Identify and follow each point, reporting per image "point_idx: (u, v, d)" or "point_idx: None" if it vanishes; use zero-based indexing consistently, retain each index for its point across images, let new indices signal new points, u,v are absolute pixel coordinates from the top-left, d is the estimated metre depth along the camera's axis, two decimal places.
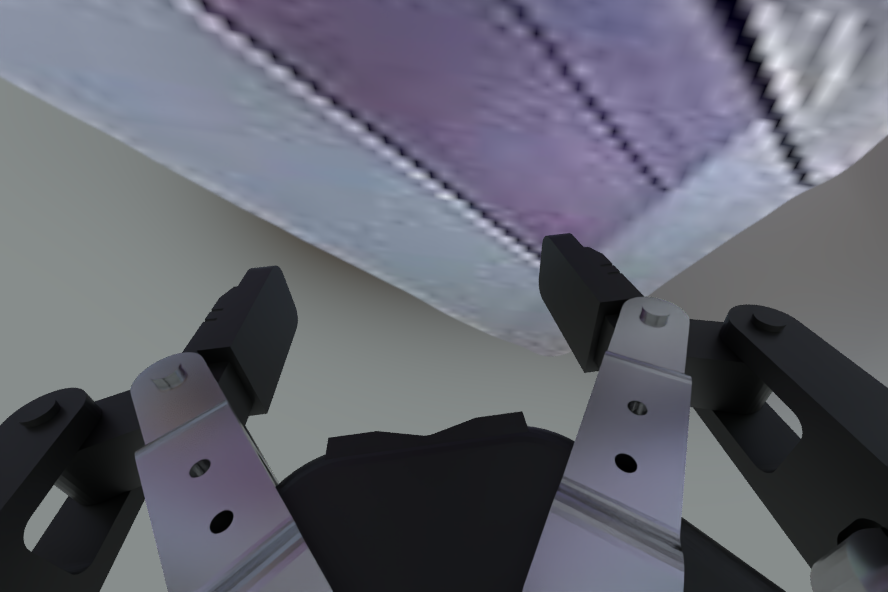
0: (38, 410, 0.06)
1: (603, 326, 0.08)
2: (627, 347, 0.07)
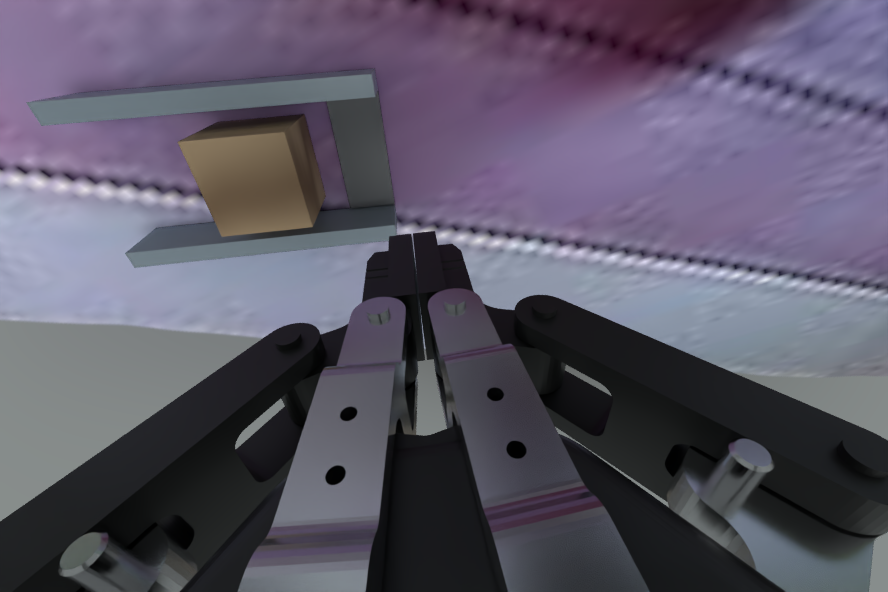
0: (287, 338, 0.07)
1: (428, 315, 0.09)
2: (452, 343, 0.07)
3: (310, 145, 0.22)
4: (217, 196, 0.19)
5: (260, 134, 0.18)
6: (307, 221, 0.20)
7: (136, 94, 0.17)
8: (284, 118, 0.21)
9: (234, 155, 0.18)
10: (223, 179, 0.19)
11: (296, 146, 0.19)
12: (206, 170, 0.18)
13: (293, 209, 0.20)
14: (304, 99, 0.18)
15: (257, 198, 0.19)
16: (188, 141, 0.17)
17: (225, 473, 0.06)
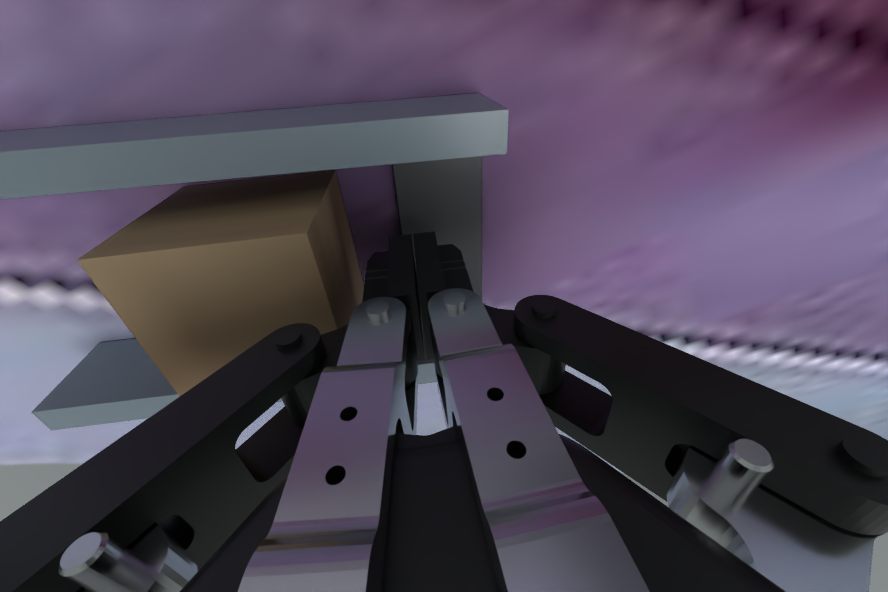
0: (287, 338, 0.07)
1: (429, 316, 0.09)
2: (452, 343, 0.07)
3: (345, 222, 0.13)
4: (172, 347, 0.10)
5: (255, 238, 0.08)
6: None
7: (11, 153, 0.08)
8: (301, 181, 0.12)
9: (203, 278, 0.09)
10: (182, 319, 0.09)
11: (327, 244, 0.10)
12: (146, 307, 0.09)
13: None
14: (367, 159, 0.09)
15: None
16: (100, 258, 0.08)
17: (225, 473, 0.06)
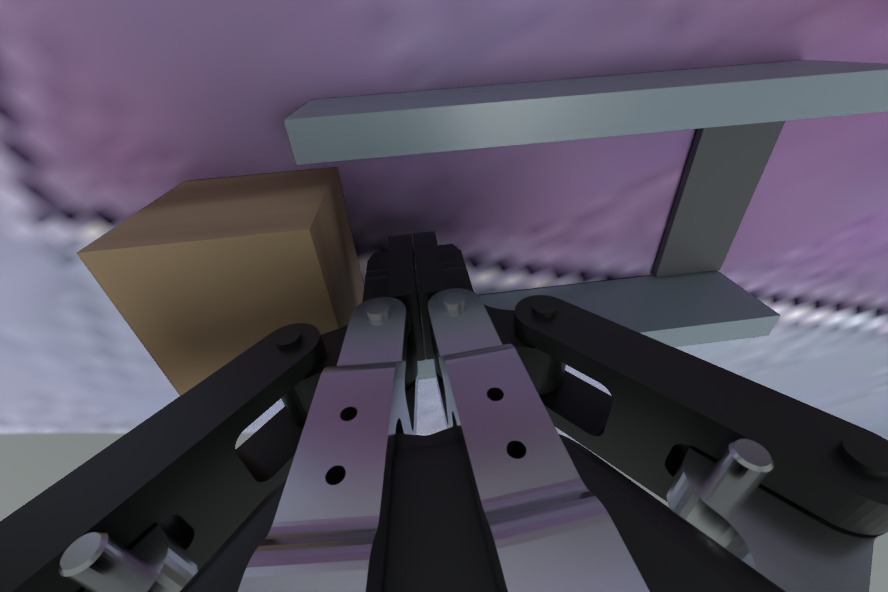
0: (287, 338, 0.07)
1: (428, 316, 0.09)
2: (452, 343, 0.07)
3: (345, 219, 0.13)
4: (171, 342, 0.10)
5: (258, 234, 0.08)
6: None
7: (496, 104, 0.09)
8: (302, 178, 0.12)
9: (204, 273, 0.09)
10: (181, 314, 0.09)
11: (328, 241, 0.10)
12: (145, 301, 0.09)
13: None
14: (785, 114, 0.09)
15: (250, 343, 0.10)
16: (100, 251, 0.08)
17: (225, 473, 0.06)
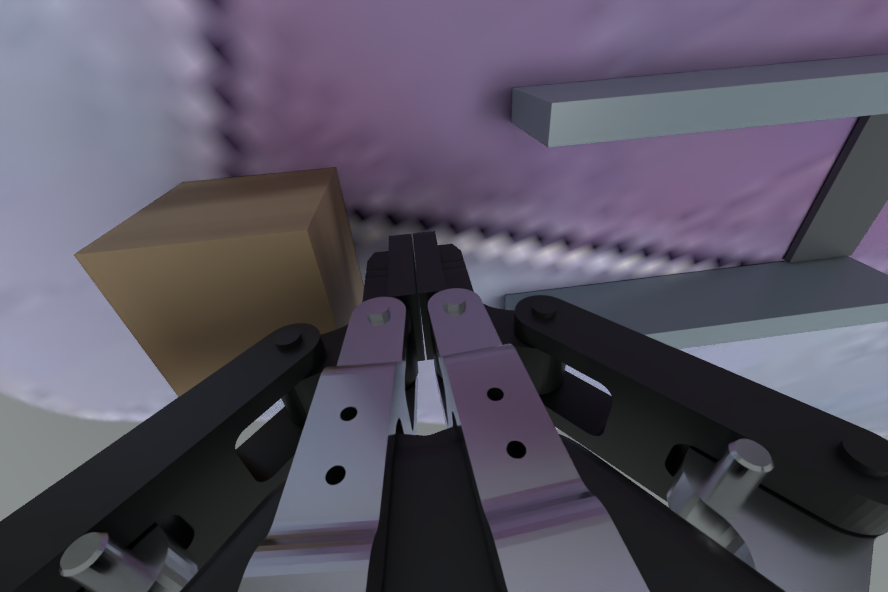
0: (287, 338, 0.07)
1: (428, 316, 0.09)
2: (452, 343, 0.07)
3: (344, 220, 0.13)
4: (170, 344, 0.10)
5: (255, 235, 0.08)
6: None
7: (747, 86, 0.09)
8: (301, 178, 0.11)
9: (201, 275, 0.09)
10: (179, 316, 0.09)
11: (327, 242, 0.10)
12: (143, 303, 0.09)
13: None
14: None
15: (249, 344, 0.10)
16: (98, 252, 0.08)
17: (225, 473, 0.06)
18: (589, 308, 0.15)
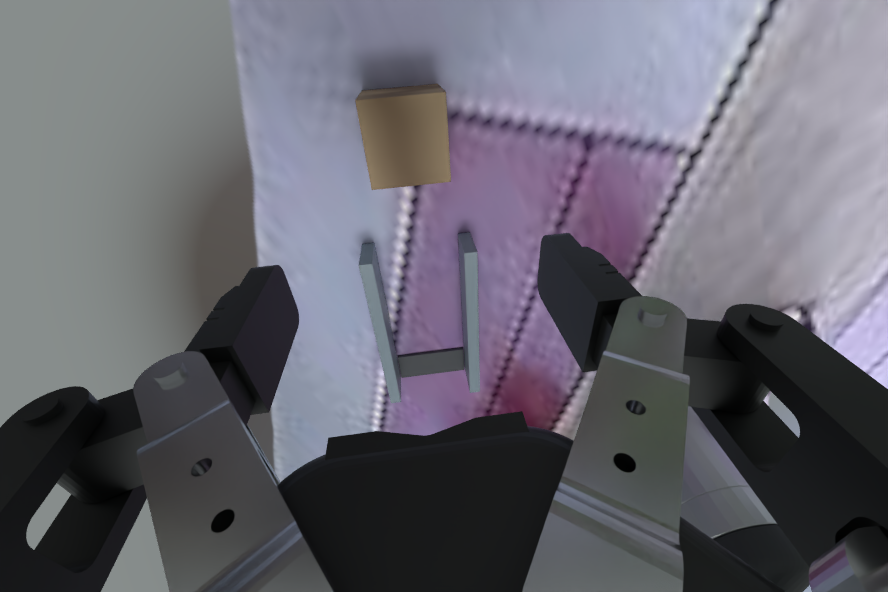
0: (41, 409, 0.06)
1: (601, 325, 0.08)
2: (625, 347, 0.07)
3: None
4: (398, 110, 0.21)
5: (449, 162, 0.23)
6: (377, 186, 0.23)
7: (477, 303, 0.31)
8: None
9: (434, 138, 0.22)
10: (414, 121, 0.21)
11: None
12: (421, 108, 0.21)
13: (388, 176, 0.23)
14: (470, 368, 0.35)
15: (397, 146, 0.22)
16: (445, 101, 0.21)
17: (26, 577, 0.05)
18: (379, 284, 0.31)
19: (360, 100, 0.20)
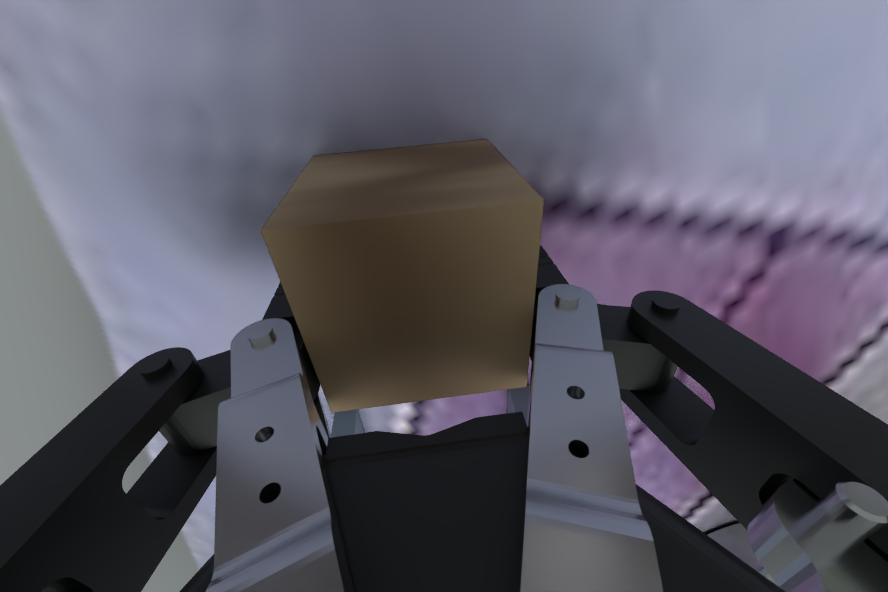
0: (155, 365, 0.07)
1: None
2: (551, 335, 0.07)
3: None
4: (396, 251, 0.07)
5: (528, 353, 0.09)
6: (344, 405, 0.09)
7: None
8: None
9: (496, 309, 0.08)
10: (443, 275, 0.07)
11: None
12: (466, 245, 0.07)
13: (371, 387, 0.09)
14: None
15: (393, 331, 0.08)
16: (539, 224, 0.07)
17: (117, 517, 0.06)
18: None
19: (278, 228, 0.06)
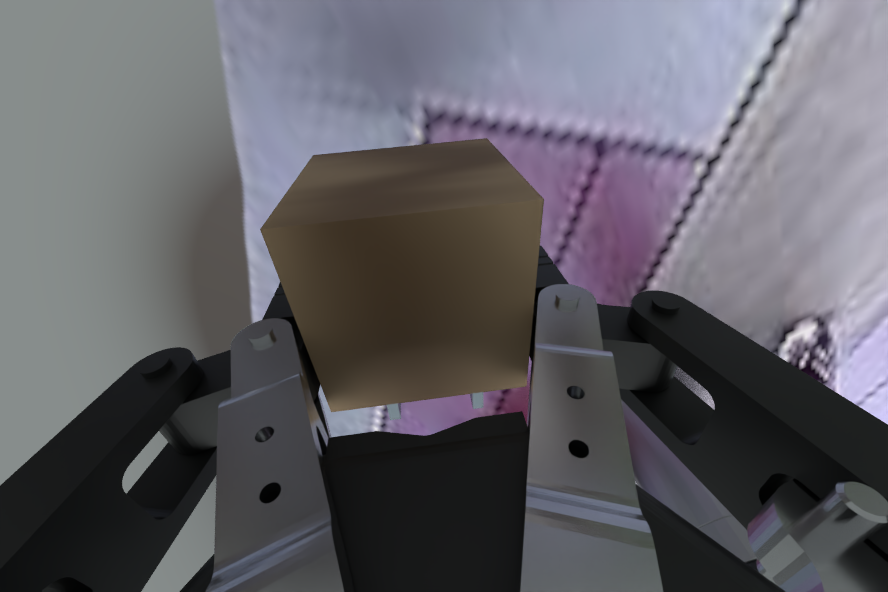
0: (154, 365, 0.07)
1: None
2: (551, 335, 0.07)
3: None
4: (396, 251, 0.07)
5: (528, 352, 0.09)
6: (344, 405, 0.09)
7: None
8: None
9: (496, 308, 0.08)
10: (442, 274, 0.07)
11: None
12: (466, 244, 0.07)
13: (371, 386, 0.09)
14: None
15: (393, 330, 0.08)
16: (539, 223, 0.07)
17: (117, 517, 0.06)
18: None
19: (277, 228, 0.06)
